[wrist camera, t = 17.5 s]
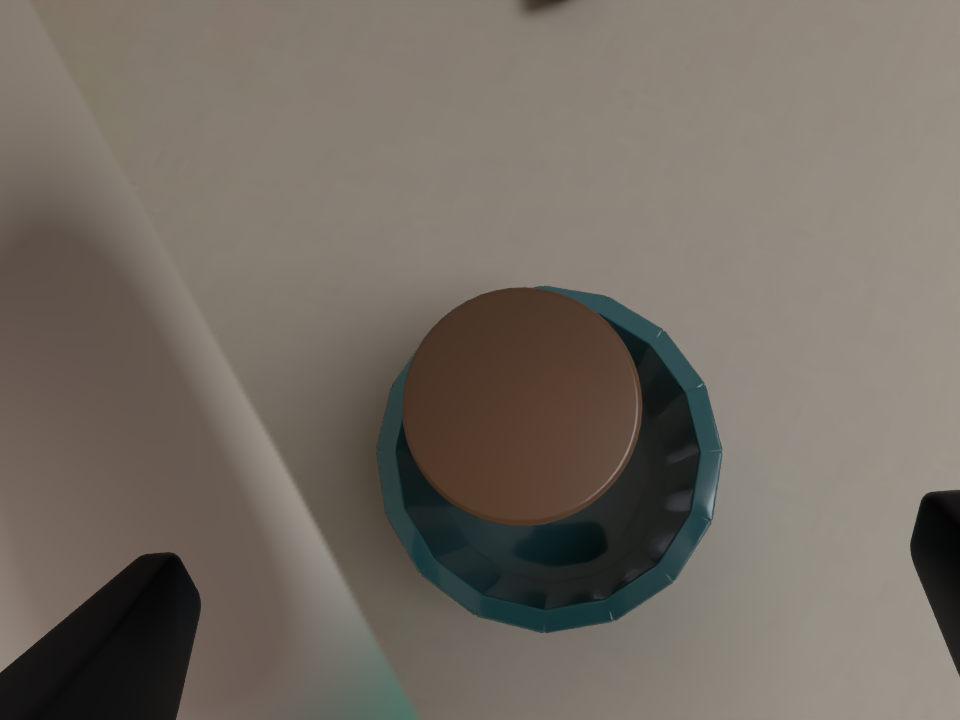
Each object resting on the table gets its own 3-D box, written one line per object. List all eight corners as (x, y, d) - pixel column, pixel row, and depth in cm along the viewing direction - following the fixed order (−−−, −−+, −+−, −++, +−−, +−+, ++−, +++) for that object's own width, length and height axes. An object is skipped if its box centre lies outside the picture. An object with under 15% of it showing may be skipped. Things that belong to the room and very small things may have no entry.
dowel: (622, 467, 21) (696, 408, 8) (547, 535, 21) (509, 580, 8) (553, 395, 22) (527, 239, 9) (481, 460, 22) (354, 394, 9)
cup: (656, 623, 20) (690, 670, 15) (404, 562, 22) (343, 583, 16) (697, 367, 22) (743, 317, 16) (458, 325, 23) (419, 264, 17)
